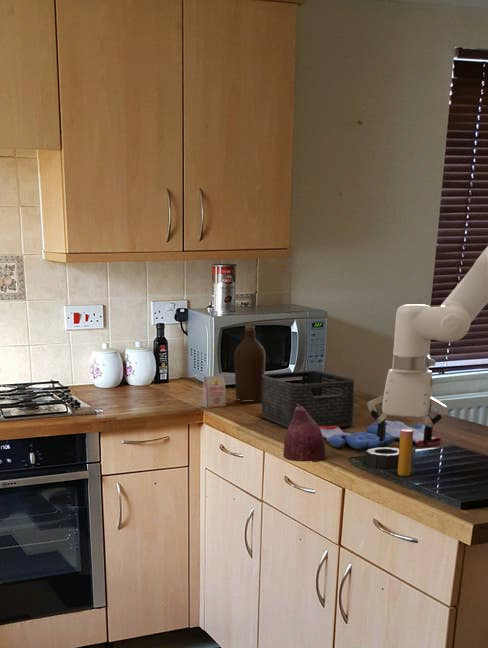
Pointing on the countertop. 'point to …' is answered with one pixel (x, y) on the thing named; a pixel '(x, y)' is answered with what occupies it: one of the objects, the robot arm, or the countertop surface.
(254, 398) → the brown bottle
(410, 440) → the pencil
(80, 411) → the countertop surface
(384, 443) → the pair of gloves
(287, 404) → the storage bin
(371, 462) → the tape
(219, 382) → the pink carton
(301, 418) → the vegetable
